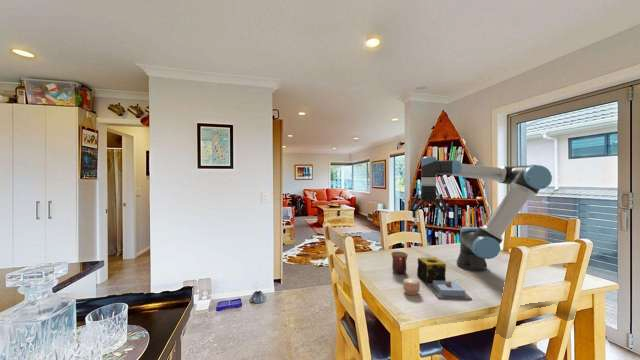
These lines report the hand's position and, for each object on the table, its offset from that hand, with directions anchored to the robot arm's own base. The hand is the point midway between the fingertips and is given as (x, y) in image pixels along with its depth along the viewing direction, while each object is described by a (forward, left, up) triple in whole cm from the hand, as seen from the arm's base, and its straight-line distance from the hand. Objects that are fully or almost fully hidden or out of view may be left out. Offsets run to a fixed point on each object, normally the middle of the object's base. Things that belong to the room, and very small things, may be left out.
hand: (428, 223), depth 137 cm
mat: (-1, +23, -27) cm, 35 cm away
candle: (+2, +10, -27) cm, 29 cm away
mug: (+16, +3, -27) cm, 31 cm away
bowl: (+16, +25, -27) cm, 40 cm away
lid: (-1, +23, -26) cm, 35 cm away
